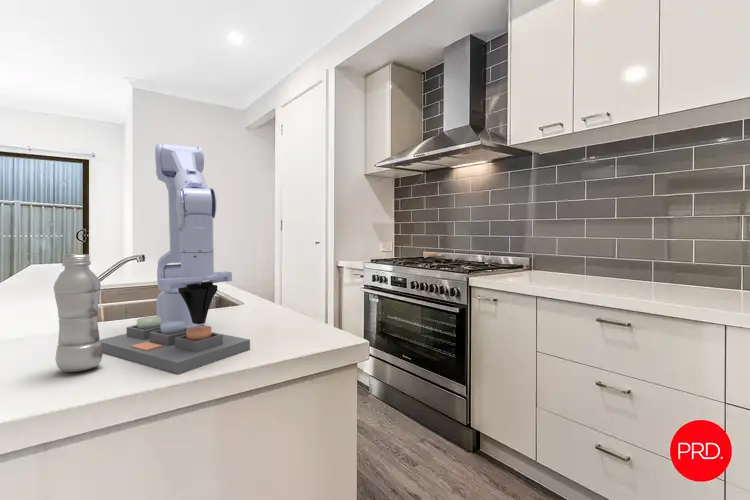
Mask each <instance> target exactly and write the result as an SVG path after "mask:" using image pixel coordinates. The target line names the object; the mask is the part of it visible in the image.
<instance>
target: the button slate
mask: <svg viewBox="0 0 750 500" xmlns="http://www.w3.org/2000/svg"><path fill="white" fill-rule="evenodd" d="M160 328H161V334H165V335H173V334H177V333H181V332H185V322H184V321H170V322H165V323H162V324H160Z"/></svg>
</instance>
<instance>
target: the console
mask: <svg viewBox="0 0 750 500" xmlns="http://www.w3.org/2000/svg"><path fill="white" fill-rule="evenodd" d="M161 324H162V323H161ZM187 328H188V327H185V332H181V333H177V334H173V335H165V334H161V328H160V327H156V328H152V329H147V330H142V329H137V324H136V325H135V324H134V325H130V326H126V333H124V334H119V335H115V336H112V337H106V338H102V339H99V340H100V341H101V344H102V350H103V354H107V355H110V356H114V357H118V358H119V359H124V360H126V361H127V360H128V361H131V362H133V363H138V364H141V365H145V366H148V367H151V368H154V369H158V370H161V371H165V372H168V373H173V374H175V375H181V374H183V373H185V372H188V371H191V370H194V369H198V368H200V367H203V366H207V365H208V364H211V363H214V362H218V361H219V360H223V359H226V358H229V357H231V356H235V355H237V354H241V353H243V352H247V351H250V350H251V339H249V338H244V337H238V336H234V335H229V334H228V335H227V334H223V333H217V332H213V331H212V337H210V338H206V339H203V340H199V341H192V340H188V339H187V337H186V329H187Z"/></svg>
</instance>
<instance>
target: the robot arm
mask: <svg viewBox="0 0 750 500" xmlns="http://www.w3.org/2000/svg"><path fill="white" fill-rule="evenodd" d="M154 150H155V151H154V152H155V153H154V154H155V173H156V176H157V180H158V181H160V182H162V183H165V186H166V190H167V194H168V197H167V198H168V227H169V228H168V230H169V250H168V251H167V252H166V253H164V254H163V255H162V256H160V257H159V258H158V260H157V269H156V276H157V280H156V281H157V288H158V291H161V292H160V293H159V294H158V295H157V297H156V302H155V305H156V307H155V308H156V317H161V323H165V322H170V321H184V322H185V327H188V328H190V327H194V326H205V325H206V320H207V317H208V312H209V309H210V306H211V304H212V302H213V301H212V300H213V298H214V297H215V294H216V293H217V292H218V284H217V283H224V282H228V283H229V282H232V281H233V271H228V270H226V271H225V270H224V271H214V270H215V269H214V268H215V265H214V263H215V262H214V258H215V257H214V219H215V217H216V214H217V196H216V192H215V189H214V188H213V187H208V185H207V182H206V179H205V177H204V175H203V174H202V173H203V171H204V167H205V155H204V154H205V153H204V149H202V147H201V146H189V145H180V144H178V145H177V144H169V143H168V144H167V143H162V142H157V144H156V145H155V149H154Z"/></svg>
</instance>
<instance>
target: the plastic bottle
mask: <svg viewBox="0 0 750 500" xmlns="http://www.w3.org/2000/svg"><path fill="white" fill-rule="evenodd" d="M91 264H92V263H91V259H90V254H88V253H84V254H83V253H79V254H78V253H74V254H73V253H72V254H70V253H69V254H63V255H62V267H64V269H63V271H62V272H61V273H60V274H59V276H58V277H57V279H55V282H54V285H53V294H54V298H55V303H56V308H57V315H58V338H57V339H58V341H57V344H58V345H57V347H56V353H55V364H56V367H57V368H58V369H59V370H60V371H61V372H64V373H77V372H82V371H87V370H91V369H94V368H96V367H98V366H99V365H100V363H101V362H102V360H103V355H104V353H103V350H102V344H101V341H100V340H101V339H100V330H99V323H98V314H99V300H100V294H101V282H100V279H99V277H98V276H97V275H96V274H95V273H94V272H93V271H92V270H91V269H90V267H89V266H90V265H91Z"/></svg>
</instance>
